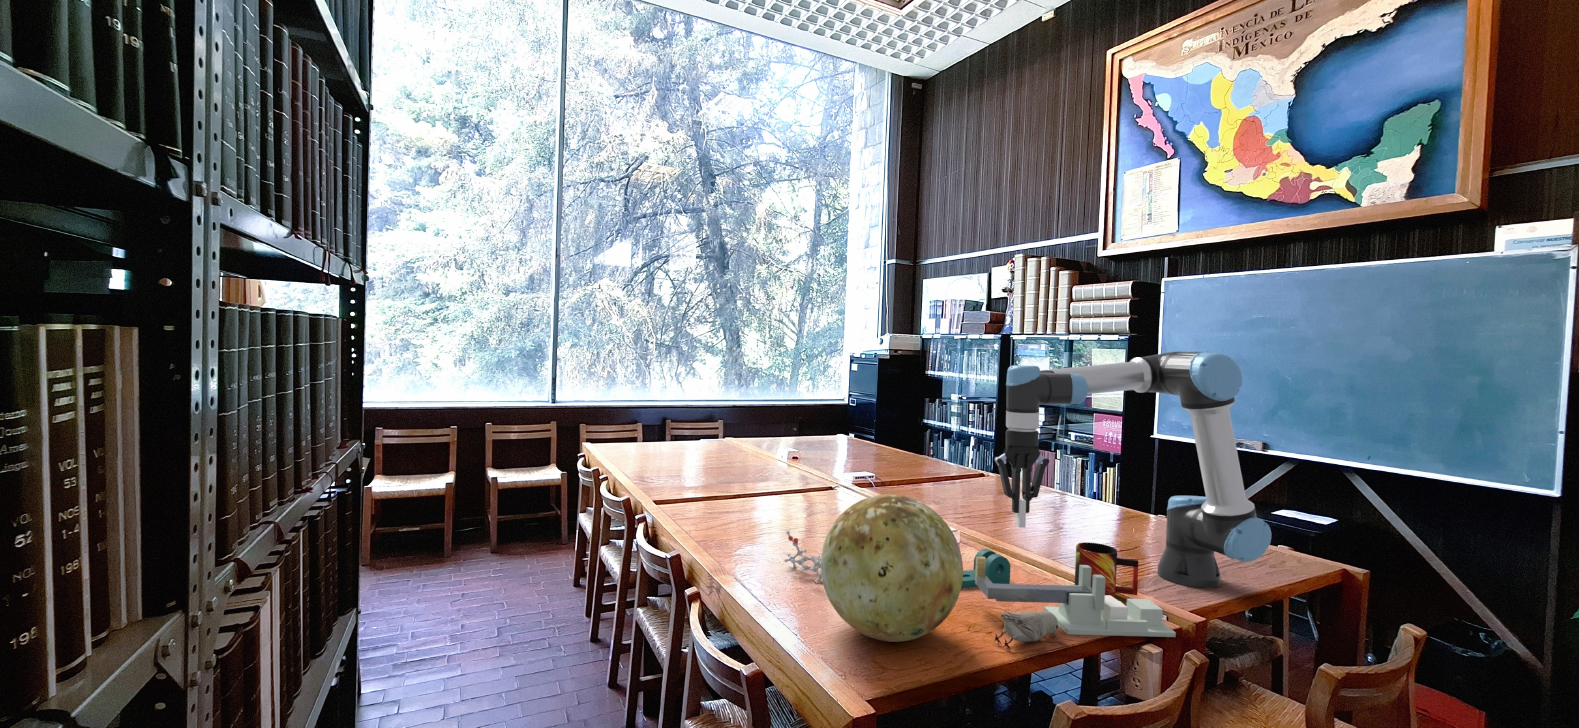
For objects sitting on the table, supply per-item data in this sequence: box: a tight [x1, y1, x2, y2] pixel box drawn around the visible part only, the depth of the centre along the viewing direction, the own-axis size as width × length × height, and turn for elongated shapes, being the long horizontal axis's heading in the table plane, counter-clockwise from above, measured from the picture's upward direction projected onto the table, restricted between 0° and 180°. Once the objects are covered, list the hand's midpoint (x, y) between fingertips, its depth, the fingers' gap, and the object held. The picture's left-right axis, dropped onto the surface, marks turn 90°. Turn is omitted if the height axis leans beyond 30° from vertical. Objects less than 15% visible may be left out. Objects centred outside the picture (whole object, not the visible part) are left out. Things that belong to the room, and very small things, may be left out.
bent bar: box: [975, 555, 1091, 604], centre depth 154 cm, size 24×10×7 cm, turn 91°
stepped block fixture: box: [1043, 565, 1177, 638], centre depth 151 cm, size 24×13×12 cm, turn 91°
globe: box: [820, 494, 964, 643], centre depth 141 cm, size 30×30×30 cm
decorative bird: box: [994, 610, 1060, 652], centre depth 140 cm, size 5×16×8 cm, turn 115°
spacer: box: [1101, 595, 1128, 621], centre depth 152 cm, size 4×7×4 cm
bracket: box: [961, 548, 1011, 589], centre depth 175 cm, size 18×7×8 cm, turn 108°
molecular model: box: [784, 530, 822, 583], centre depth 177 cm, size 19×10×10 cm, turn 26°
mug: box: [1074, 542, 1139, 599], centre depth 170 cm, size 10×14×12 cm
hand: (1020, 525), depth 160 cm, fingers closed
